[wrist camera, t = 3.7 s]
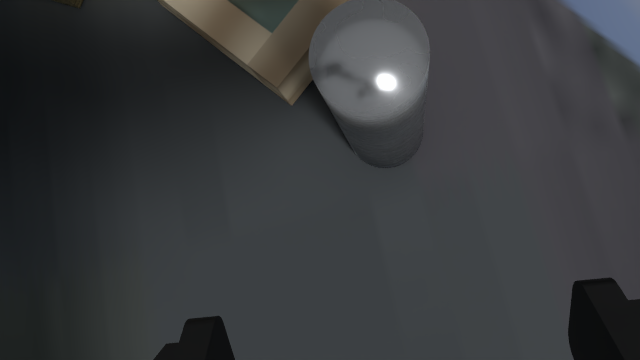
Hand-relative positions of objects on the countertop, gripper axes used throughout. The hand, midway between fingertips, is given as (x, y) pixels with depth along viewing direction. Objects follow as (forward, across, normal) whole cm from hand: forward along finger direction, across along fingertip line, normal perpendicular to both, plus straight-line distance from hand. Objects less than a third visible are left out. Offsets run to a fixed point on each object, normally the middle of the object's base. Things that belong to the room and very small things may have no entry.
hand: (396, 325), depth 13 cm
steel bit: (+18, +1, -4) cm, 18 cm away
